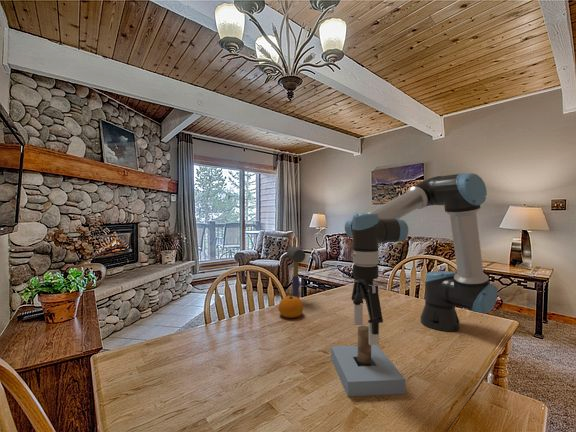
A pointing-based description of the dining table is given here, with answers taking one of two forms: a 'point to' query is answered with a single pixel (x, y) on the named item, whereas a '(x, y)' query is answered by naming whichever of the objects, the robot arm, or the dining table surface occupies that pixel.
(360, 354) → the peg
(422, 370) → the dining table surface
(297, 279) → the rubber mallet
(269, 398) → the dining table surface
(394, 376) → the seat board
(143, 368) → the dining table surface
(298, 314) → the fruit
